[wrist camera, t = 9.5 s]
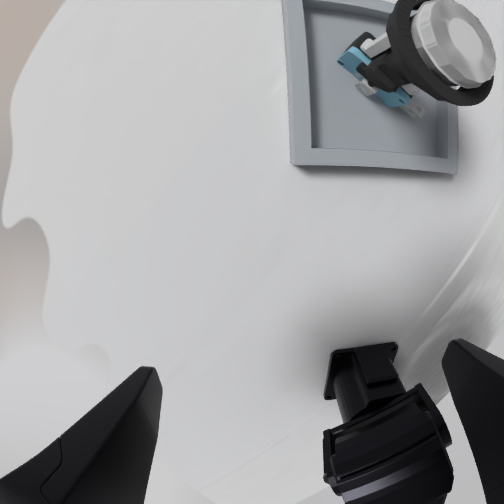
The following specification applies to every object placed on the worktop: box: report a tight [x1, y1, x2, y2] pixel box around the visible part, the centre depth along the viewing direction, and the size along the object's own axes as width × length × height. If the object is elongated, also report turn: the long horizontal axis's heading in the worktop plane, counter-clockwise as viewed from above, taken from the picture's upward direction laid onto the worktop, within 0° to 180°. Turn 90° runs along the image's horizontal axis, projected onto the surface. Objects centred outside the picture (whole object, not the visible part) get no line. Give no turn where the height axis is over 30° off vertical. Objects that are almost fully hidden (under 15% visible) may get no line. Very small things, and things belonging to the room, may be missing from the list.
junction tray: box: [282, 0, 458, 174], centre depth 15 cm, size 12×12×2 cm
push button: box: [337, 0, 496, 118], centre depth 11 cm, size 7×5×10 cm
